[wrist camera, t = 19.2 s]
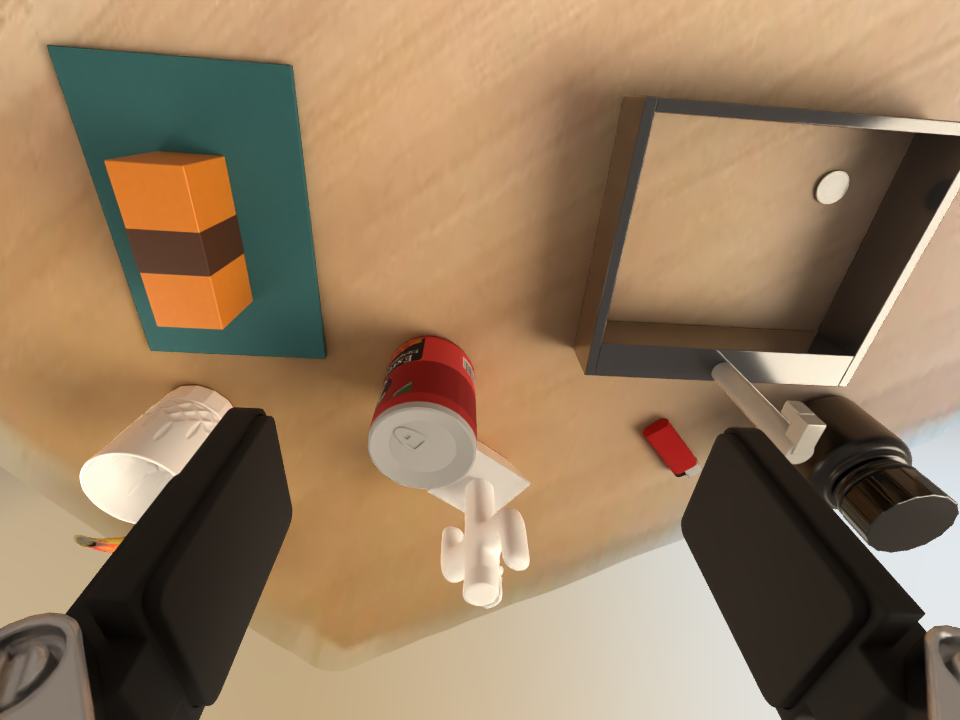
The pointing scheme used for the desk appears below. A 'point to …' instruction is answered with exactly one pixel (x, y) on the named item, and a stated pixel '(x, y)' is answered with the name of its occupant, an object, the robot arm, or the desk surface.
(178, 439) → the white cup
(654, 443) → the lighter
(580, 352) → the sink basin
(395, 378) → the canned food
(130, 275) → the mat
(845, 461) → the ink bottle
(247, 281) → the orange striped block
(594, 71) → the desk surface
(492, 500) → the figurine
